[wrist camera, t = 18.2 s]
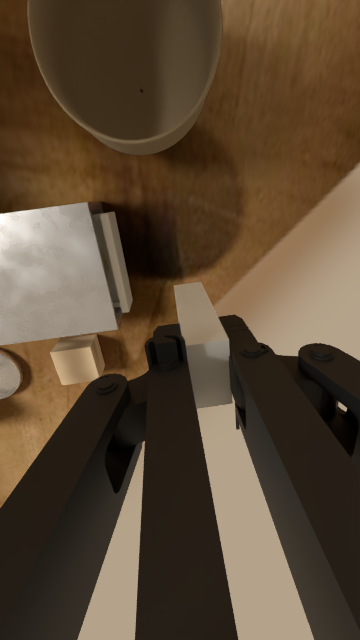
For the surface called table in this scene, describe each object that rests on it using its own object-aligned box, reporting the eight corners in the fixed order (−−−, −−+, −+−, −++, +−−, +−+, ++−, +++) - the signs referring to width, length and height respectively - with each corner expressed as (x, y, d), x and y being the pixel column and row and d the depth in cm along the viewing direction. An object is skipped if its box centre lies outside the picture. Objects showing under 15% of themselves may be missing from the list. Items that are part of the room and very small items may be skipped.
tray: (18, 315, 35) (1, 329, 31) (-16, 229, 31) (-41, 233, 27) (132, 300, 35) (129, 312, 31) (114, 211, 31) (107, 213, 27)
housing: (11, 324, 36) (-17, 347, 30) (-33, 219, 30) (-77, 224, 25) (125, 309, 36) (118, 329, 30) (101, 201, 30) (87, 202, 25)
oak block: (70, 369, 39) (62, 385, 36) (59, 339, 37) (49, 352, 34) (105, 365, 39) (99, 380, 36) (96, 334, 37) (90, 347, 34)
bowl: (162, -41, 23) (161, -197, 14) (224, 120, 28) (254, 82, 19) (42, 49, 25) (-27, -36, 16) (120, 185, 30) (101, 180, 21)
